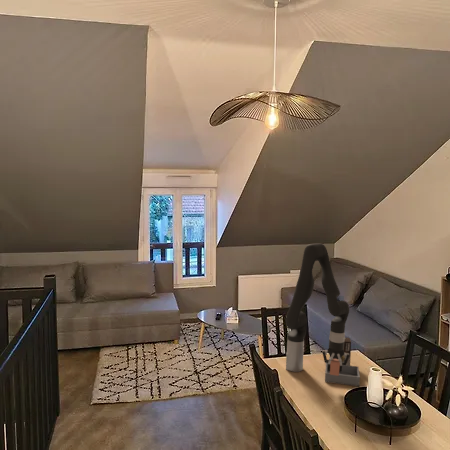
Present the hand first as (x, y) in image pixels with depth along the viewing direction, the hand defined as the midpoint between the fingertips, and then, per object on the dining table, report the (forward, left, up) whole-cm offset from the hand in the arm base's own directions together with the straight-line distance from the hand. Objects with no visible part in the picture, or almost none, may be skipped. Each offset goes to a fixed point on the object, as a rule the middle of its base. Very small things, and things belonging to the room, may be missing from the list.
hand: (334, 370), depth 226 cm
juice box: (0, 0, -1) cm, 1 cm away
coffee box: (+4, +30, -10) cm, 32 cm away
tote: (+4, +13, -9) cm, 16 cm away
